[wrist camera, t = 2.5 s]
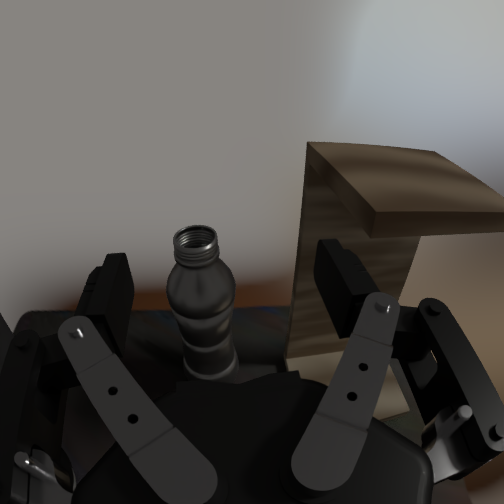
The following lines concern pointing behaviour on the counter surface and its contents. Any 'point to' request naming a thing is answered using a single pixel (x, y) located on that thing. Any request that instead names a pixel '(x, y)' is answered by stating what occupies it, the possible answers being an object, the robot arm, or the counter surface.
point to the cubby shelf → (308, 301)
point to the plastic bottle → (203, 305)
